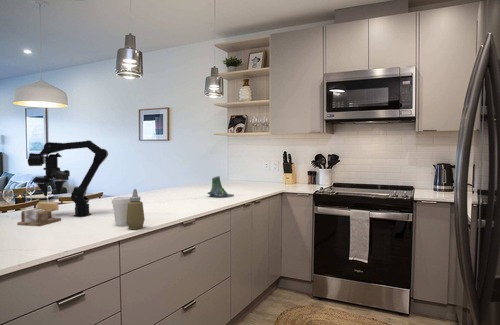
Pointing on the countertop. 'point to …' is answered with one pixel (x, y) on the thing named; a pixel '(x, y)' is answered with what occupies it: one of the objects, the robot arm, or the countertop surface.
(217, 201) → the countertop surface
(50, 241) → the countertop surface
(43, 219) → the display stand
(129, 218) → the squeeze bottle
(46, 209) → the wooden c-shaped bracket
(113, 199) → the foam cup
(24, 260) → the countertop surface
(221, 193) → the tree stump
